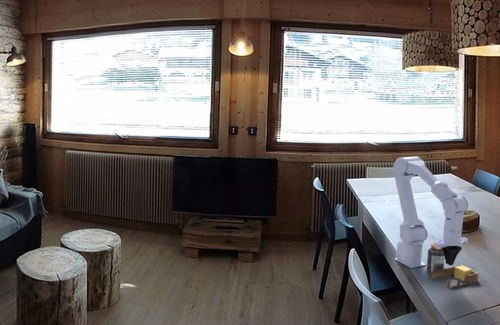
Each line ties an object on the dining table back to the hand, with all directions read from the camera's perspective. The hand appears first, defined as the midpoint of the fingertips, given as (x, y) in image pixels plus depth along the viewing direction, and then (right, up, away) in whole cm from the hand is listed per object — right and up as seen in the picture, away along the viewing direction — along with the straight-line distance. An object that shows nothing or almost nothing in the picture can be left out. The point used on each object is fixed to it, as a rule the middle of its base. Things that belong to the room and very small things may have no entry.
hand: (449, 264), depth 142 cm
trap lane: (+3, -6, +2) cm, 7 cm away
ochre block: (+7, -6, +4) cm, 10 cm away
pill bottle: (-1, -6, +9) cm, 11 cm away
